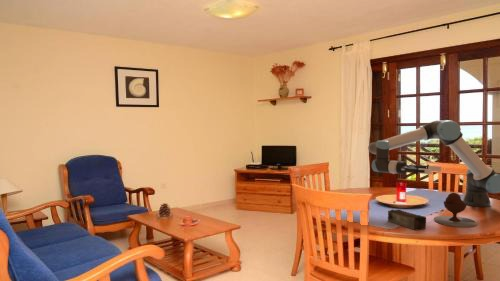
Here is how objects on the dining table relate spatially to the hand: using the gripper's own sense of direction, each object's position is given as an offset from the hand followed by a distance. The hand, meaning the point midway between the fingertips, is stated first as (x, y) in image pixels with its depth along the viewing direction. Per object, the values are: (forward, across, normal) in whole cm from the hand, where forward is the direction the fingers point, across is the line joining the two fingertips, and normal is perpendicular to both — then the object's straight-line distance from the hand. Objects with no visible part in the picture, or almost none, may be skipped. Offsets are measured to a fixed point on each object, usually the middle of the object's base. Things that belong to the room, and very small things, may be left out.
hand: (436, 170), depth 201 cm
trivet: (+10, 0, -27) cm, 29 cm away
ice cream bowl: (+10, 0, -26) cm, 28 cm away
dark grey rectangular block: (-6, +23, -27) cm, 36 cm away
